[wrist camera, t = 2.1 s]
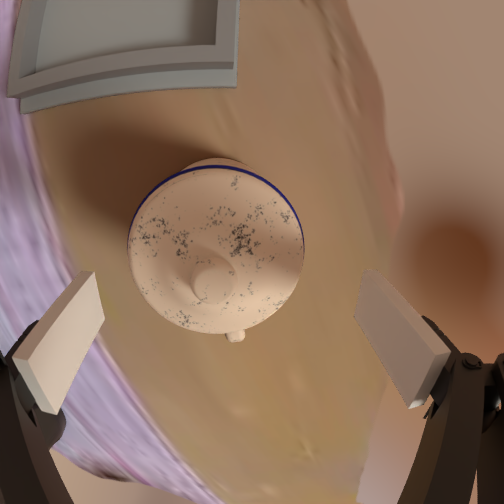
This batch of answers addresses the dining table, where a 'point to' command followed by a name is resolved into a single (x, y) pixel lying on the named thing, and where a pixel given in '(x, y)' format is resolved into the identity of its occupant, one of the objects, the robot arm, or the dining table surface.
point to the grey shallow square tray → (120, 48)
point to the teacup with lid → (216, 248)
